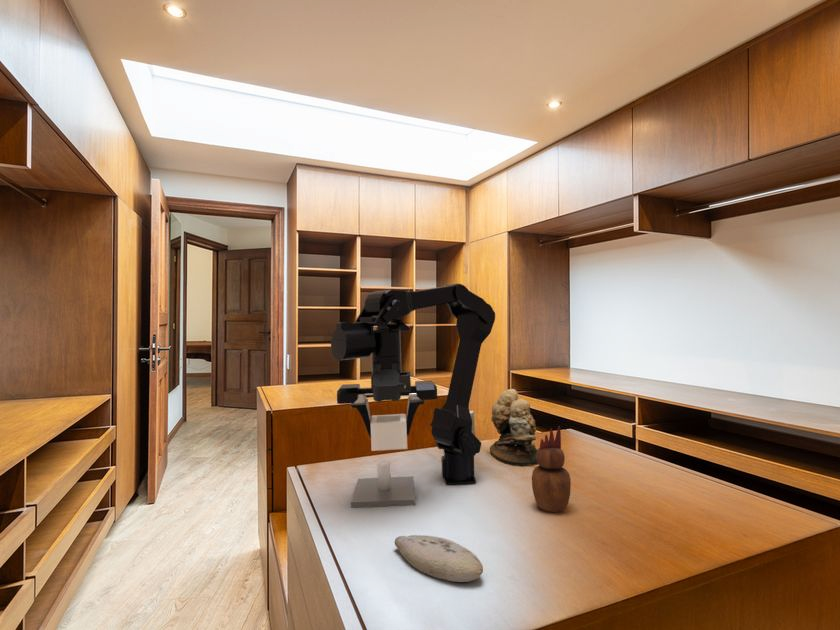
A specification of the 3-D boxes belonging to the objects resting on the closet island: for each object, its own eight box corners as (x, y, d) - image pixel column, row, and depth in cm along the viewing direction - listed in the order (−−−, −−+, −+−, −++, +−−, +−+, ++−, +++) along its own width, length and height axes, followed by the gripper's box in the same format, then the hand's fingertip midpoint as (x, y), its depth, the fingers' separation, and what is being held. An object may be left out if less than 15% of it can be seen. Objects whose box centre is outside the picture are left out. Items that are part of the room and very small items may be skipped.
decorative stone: (408, 542, 70) (407, 520, 70) (495, 574, 60) (494, 549, 60) (382, 559, 65) (381, 536, 65) (472, 598, 55) (471, 571, 55)
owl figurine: (555, 465, 102) (553, 393, 102) (508, 471, 100) (505, 397, 99) (522, 443, 120) (519, 381, 120) (481, 448, 117) (479, 384, 117)
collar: (406, 438, 87) (405, 413, 87) (407, 448, 81) (406, 421, 81) (373, 440, 87) (372, 415, 87) (371, 450, 80) (370, 423, 80)
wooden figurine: (571, 503, 81) (568, 423, 81) (571, 517, 76) (568, 431, 76) (534, 499, 83) (531, 421, 83) (531, 513, 78) (528, 429, 78)
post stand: (413, 481, 95) (412, 453, 95) (414, 504, 83) (413, 473, 83) (358, 483, 94) (357, 455, 94) (351, 507, 82) (350, 475, 82)
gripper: (331, 362, 75) (334, 452, 75) (438, 357, 76) (442, 446, 76) (339, 356, 86) (342, 434, 86) (433, 352, 87) (435, 429, 87)
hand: (389, 436), depth 84 cm, fingers closed on collar, 7 cm apart
